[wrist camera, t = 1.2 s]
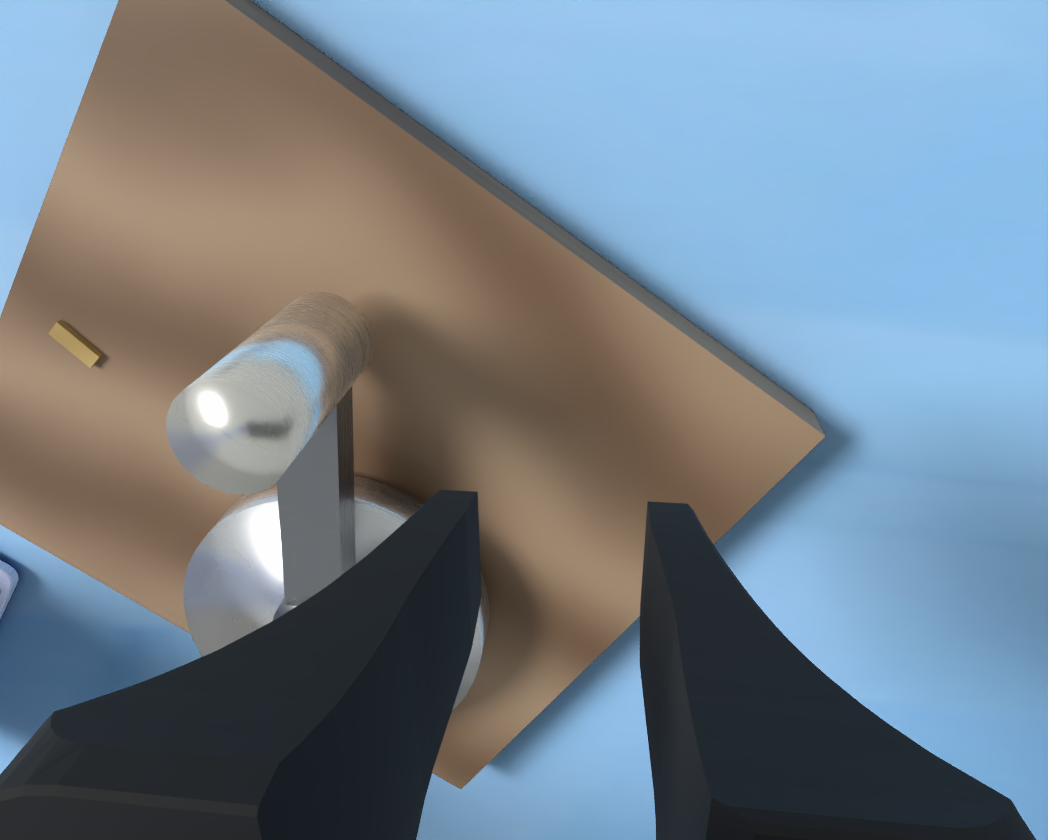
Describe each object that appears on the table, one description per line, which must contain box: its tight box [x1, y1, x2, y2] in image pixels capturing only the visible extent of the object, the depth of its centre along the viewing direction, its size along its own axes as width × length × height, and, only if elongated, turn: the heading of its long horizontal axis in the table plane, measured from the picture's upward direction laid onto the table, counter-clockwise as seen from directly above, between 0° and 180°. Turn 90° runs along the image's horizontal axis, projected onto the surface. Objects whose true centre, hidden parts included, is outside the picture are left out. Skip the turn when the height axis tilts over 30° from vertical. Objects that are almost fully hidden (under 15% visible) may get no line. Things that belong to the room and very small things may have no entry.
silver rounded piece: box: [166, 292, 489, 710], centre depth 21 cm, size 15×9×6 cm, turn 175°
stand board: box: [0, 0, 825, 789], centre depth 24 cm, size 18×20×2 cm
